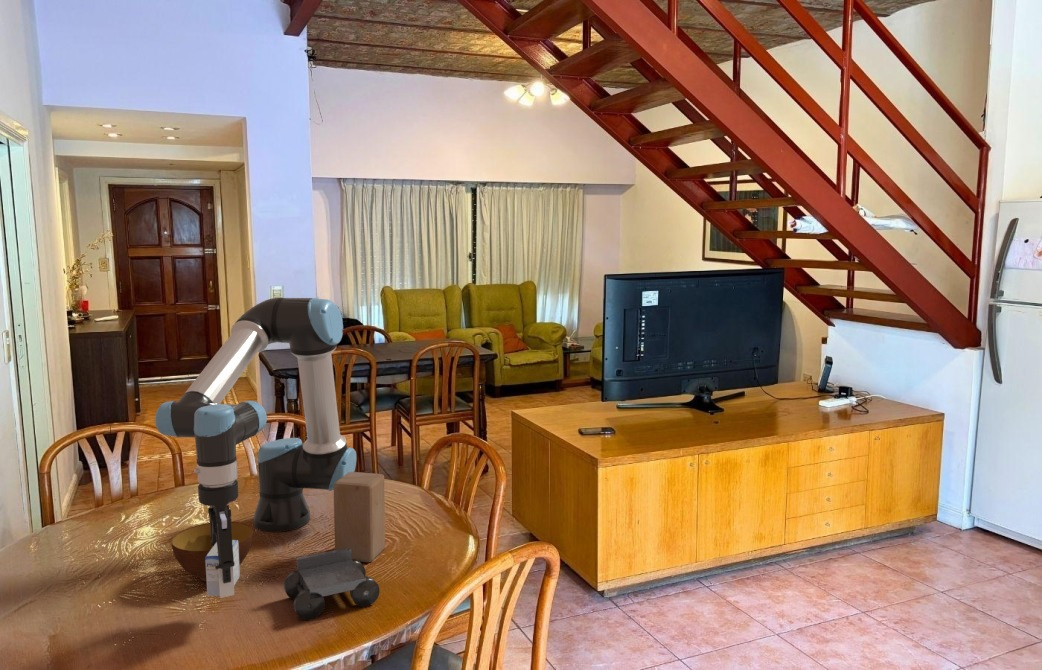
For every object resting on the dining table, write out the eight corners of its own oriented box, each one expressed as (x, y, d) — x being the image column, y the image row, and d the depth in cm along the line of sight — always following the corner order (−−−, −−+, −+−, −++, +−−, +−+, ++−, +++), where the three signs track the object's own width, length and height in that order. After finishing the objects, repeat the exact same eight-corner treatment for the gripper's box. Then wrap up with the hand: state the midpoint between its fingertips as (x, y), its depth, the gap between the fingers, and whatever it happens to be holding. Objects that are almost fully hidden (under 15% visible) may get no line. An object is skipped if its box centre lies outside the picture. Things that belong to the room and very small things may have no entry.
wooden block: (371, 564, 183) (370, 485, 180) (333, 560, 185) (331, 482, 182) (386, 548, 193) (385, 473, 190) (350, 544, 195) (349, 470, 192)
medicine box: (219, 578, 159) (216, 539, 158) (240, 577, 159) (238, 539, 158) (206, 596, 151) (204, 556, 150) (229, 595, 151) (227, 555, 150)
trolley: (283, 598, 165) (282, 560, 164) (363, 581, 174) (362, 544, 173) (296, 623, 155) (294, 582, 154) (379, 603, 164) (379, 564, 162)
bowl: (246, 590, 169) (244, 548, 167) (163, 596, 166) (161, 553, 165) (260, 558, 186) (258, 519, 185) (185, 562, 183) (183, 523, 182)
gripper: (192, 469, 159) (198, 568, 163) (204, 502, 141) (210, 613, 144) (229, 463, 163) (234, 561, 166) (246, 495, 144) (251, 604, 148)
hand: (223, 585), depth 155 cm, fingers closed on medicine box, 9 cm apart
